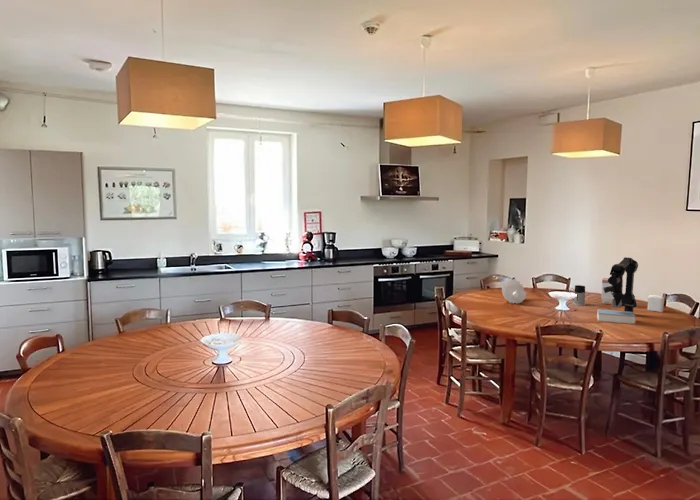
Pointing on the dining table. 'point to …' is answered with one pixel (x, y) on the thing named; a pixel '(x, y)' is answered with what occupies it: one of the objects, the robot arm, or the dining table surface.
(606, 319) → the storage box
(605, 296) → the cracker box
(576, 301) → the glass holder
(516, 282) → the white rounded lump
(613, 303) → the block
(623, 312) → the box lid
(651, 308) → the photo printer
